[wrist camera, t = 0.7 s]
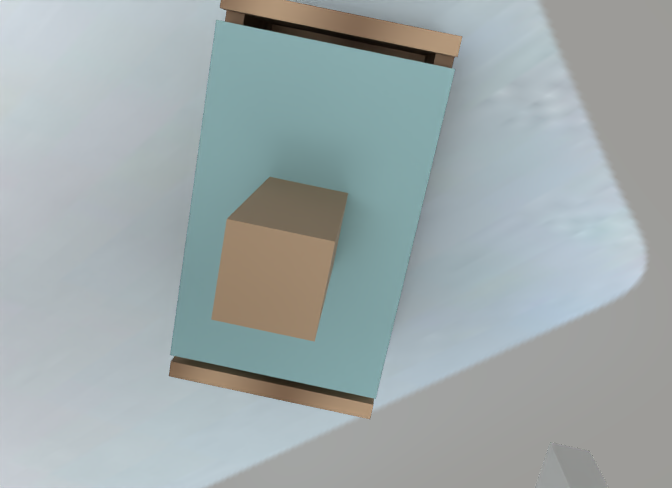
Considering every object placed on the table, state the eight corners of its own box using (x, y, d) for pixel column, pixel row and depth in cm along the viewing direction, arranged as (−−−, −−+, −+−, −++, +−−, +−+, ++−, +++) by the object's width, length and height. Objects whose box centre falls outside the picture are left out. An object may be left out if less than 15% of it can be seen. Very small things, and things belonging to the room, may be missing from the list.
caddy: (215, 307, 40) (168, 376, 31) (263, 6, 35) (222, -13, 26) (372, 340, 40) (370, 419, 31) (442, 43, 35) (462, 36, 26)
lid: (179, 341, 32) (99, 451, 23) (225, 22, 28) (147, 1, 19) (375, 383, 32) (373, 511, 23) (451, 68, 28) (485, 70, 19)
